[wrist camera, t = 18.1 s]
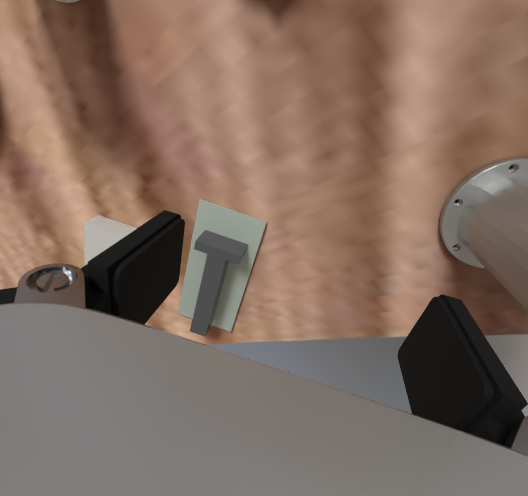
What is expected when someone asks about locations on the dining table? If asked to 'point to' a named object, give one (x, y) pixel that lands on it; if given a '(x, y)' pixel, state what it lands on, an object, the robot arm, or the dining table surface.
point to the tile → (102, 235)
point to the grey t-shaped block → (213, 275)
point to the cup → (68, 1)
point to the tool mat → (236, 275)
